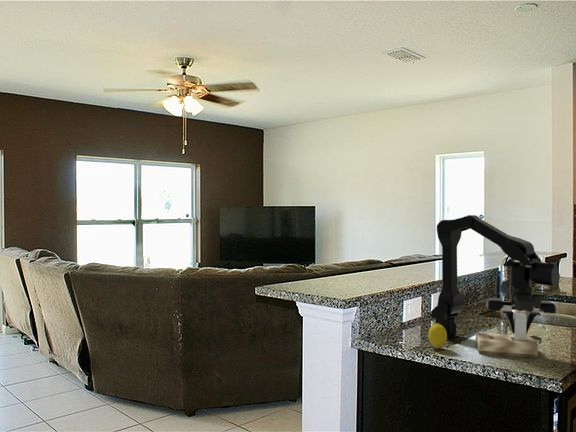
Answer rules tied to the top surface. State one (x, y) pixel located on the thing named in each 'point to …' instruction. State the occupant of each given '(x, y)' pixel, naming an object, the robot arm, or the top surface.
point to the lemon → (437, 335)
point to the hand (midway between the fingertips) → (519, 333)
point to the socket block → (505, 345)
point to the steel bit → (519, 326)
